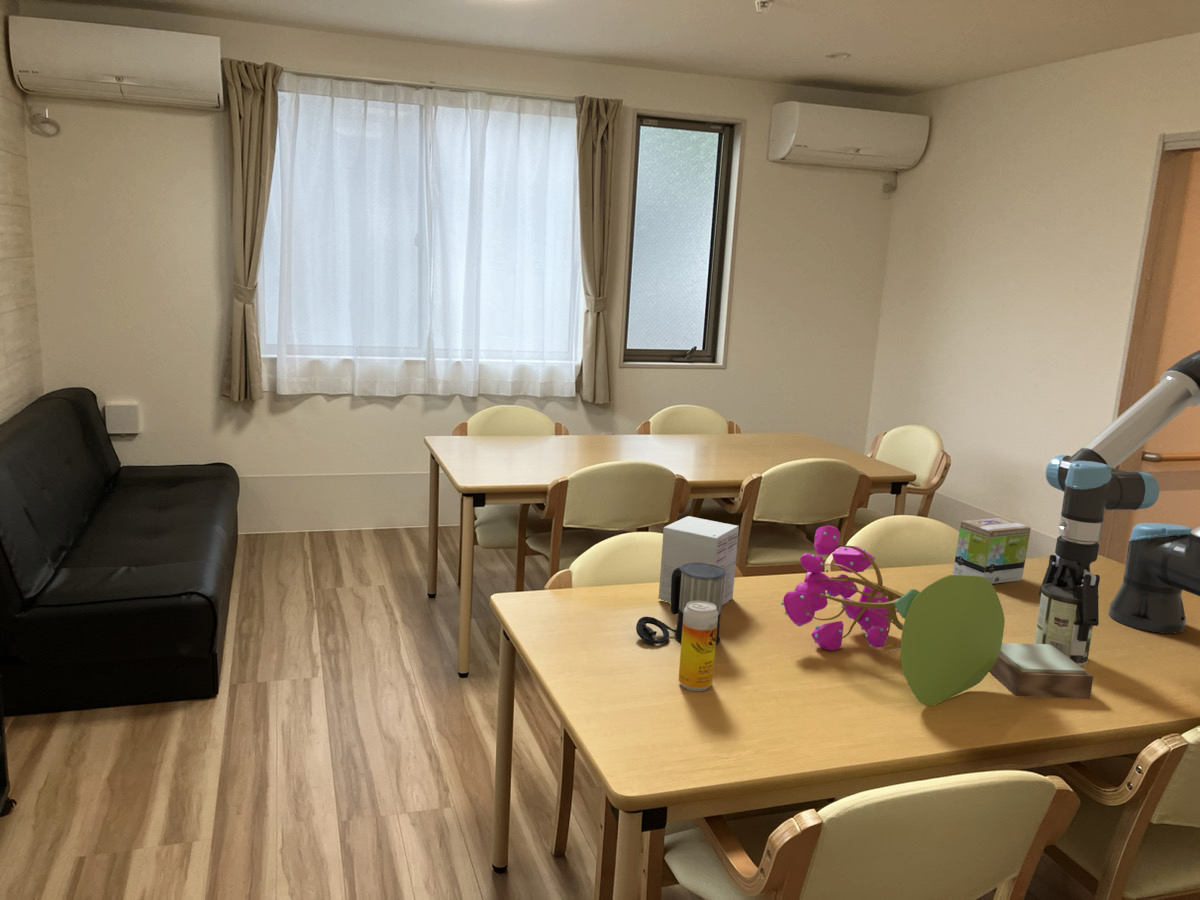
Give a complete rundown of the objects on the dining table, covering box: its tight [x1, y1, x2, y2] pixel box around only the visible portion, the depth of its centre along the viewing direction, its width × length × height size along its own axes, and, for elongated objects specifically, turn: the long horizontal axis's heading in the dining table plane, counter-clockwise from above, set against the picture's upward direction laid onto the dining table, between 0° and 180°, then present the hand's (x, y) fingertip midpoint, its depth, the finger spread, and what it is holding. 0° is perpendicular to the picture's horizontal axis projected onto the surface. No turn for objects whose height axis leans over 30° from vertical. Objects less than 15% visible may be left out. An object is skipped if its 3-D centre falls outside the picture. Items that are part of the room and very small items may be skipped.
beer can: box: [678, 601, 718, 692], centre depth 161 cm, size 6×6×15 cm
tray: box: [988, 642, 1095, 700], centre depth 172 cm, size 14×14×5 cm
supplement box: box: [657, 515, 740, 606], centre depth 205 cm, size 13×13×18 cm
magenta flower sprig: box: [780, 525, 1005, 707], centre depth 177 cm, size 30×28×35 cm
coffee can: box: [1033, 583, 1100, 667], centre depth 184 cm, size 10×10×14 cm
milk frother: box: [635, 562, 726, 645], centre depth 182 cm, size 14×16×15 cm
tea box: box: [952, 517, 1032, 585], centre depth 233 cm, size 15×10×15 cm
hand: (1061, 643), depth 185 cm, fingers closed on coffee can, 10 cm apart
